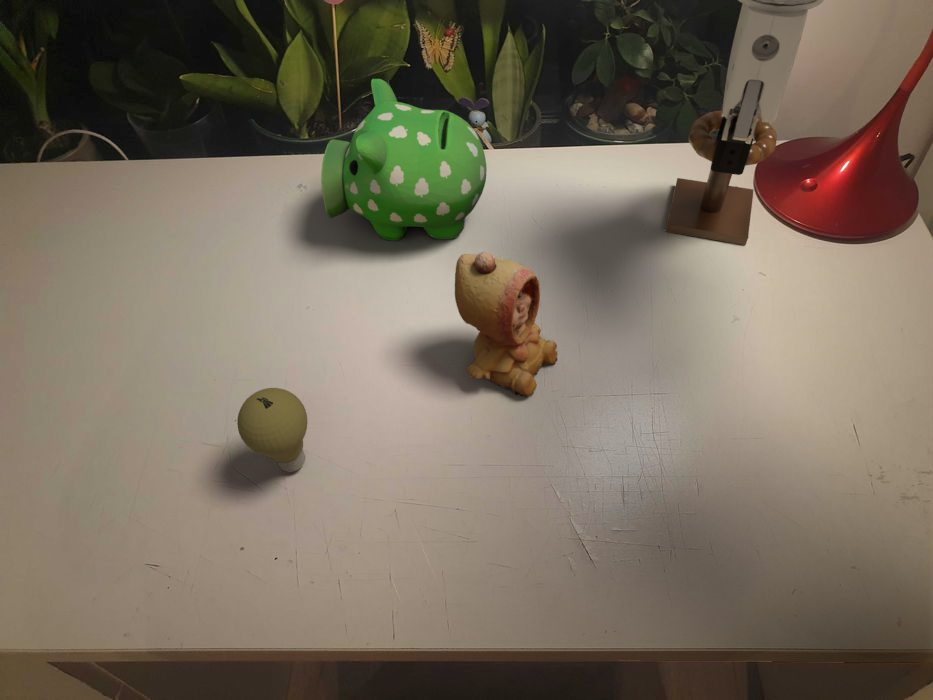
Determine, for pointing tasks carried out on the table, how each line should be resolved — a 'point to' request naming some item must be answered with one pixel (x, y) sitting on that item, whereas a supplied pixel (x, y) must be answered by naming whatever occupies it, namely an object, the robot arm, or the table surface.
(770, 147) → the ring
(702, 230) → the post
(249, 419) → the light bulb
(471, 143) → the piggy bank
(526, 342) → the figurine
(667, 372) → the table surface
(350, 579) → the table surface
